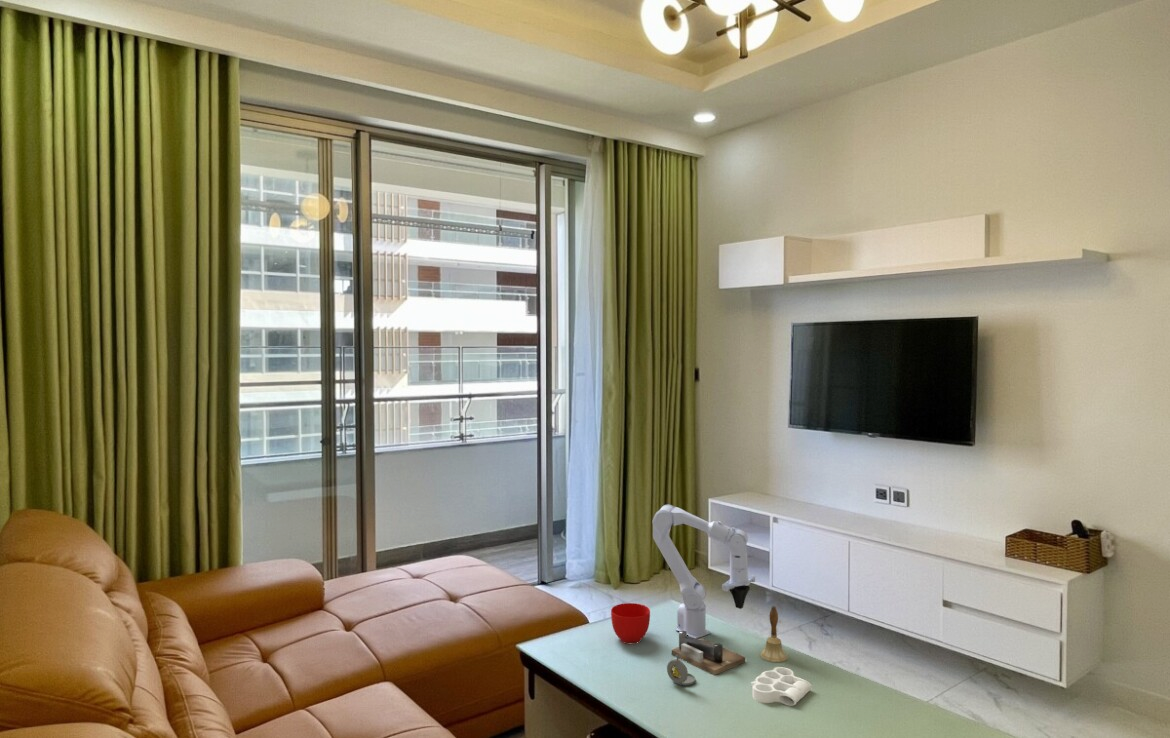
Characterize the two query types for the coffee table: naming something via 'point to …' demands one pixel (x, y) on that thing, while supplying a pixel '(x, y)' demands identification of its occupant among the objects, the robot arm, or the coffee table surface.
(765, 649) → the hand bell
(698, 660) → the press base
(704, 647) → the lever
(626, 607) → the ceramic cup
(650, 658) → the coffee table surface
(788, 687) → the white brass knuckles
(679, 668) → the pocket watch
